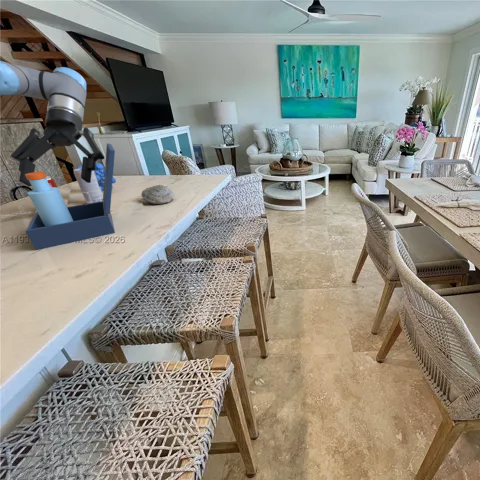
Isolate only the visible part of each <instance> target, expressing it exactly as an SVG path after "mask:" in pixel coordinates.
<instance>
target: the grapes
mask: <svg viewBox="0 0 480 480" xmlns="http://www.w3.org/2000/svg"><path fill="white" fill-rule="evenodd" d="M79 168H82V165H77V167H76V169H79ZM94 173H95V176H96V178H97V181H98V183H99V186H100V189H101V191H102V192H103V191H104V177H105V166H104V165H103V164H102V163H100V162H96V165H95V170H94ZM116 182H117V180H116V178H115V177H114V176H113V180H112V189H113V188H114V186H113V184H116Z"/></svg>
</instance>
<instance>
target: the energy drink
mask: <svg viewBox="0 0 480 480" xmlns="http://www.w3.org/2000/svg"><path fill="white" fill-rule="evenodd" d="M81 170H82V168H79V169H77V168H75V169H73V175H74V177H75V179H76V182H77V184H78V187H79V189H80V191H81V193H82V196H83V198H84V200H85V204H88V203H94V202H101V201H103V191H101V189H100V186H99V183H98V181H97V178H96V176H95V173H94V171H92V174H91V183H87V182H86V181H84V180H83V179H82V178H81Z"/></svg>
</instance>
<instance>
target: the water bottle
mask: <svg viewBox="0 0 480 480" xmlns="http://www.w3.org/2000/svg"><path fill="white" fill-rule="evenodd" d="M25 176H26V178H27V180H29V181H30V183H31V185H32V186H31V187H32V190H30V191H27V195H28V197H29V199H30V200H31V203H32V205H33V206H34V208H35V210H36V212H38V214H39V216H40V218H41V220H42V222H43V224H44V225H45V227H46V226H52V225H57V224H62V223H68V222H73V219H72V217H71V215H70V213H69V210H68V208H67V207H68V206H67V204H66V202H65V200H64V198H63V195H62V193H61V191H60V189H59V187H57V188H56V187H50V186H49V183H48V181H47V179H46V176H47V175H46V173H45V172H44V171H34V172H33V173H28V174H25Z"/></svg>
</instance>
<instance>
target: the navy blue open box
mask: <svg viewBox="0 0 480 480" xmlns="http://www.w3.org/2000/svg"><path fill="white" fill-rule="evenodd" d="M67 208H68V210H69V213H70V215H71V217H72V219H73V222H68V223H62V224H57V225H52V226H46V227H45V225H44V224H43V222H42V220H41V218H40V216H39V214H38V212H37V211H35V212H34V214H33V216H32V218H31V220H30V222H29V224H28V226H27V228H26V229H25V233H26V236H27V237H28V239H29V241H30V242H31V245H32V246H33V248H34V249H35V251H40V250H45V249H48V248H53V247H58V246H63V245H67V244H72V243H76V242H81V241H85V240H90V239H95V238H98V237H99V238H100V237H103V236H108V235H112V234H115V233H116V230H115V226H114V221H113V216H112V213H111V212H110V214H105V209H104V202H103V201H101V202H94V203H88V204H87V203H83V204H77V205H71V206H67Z"/></svg>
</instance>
